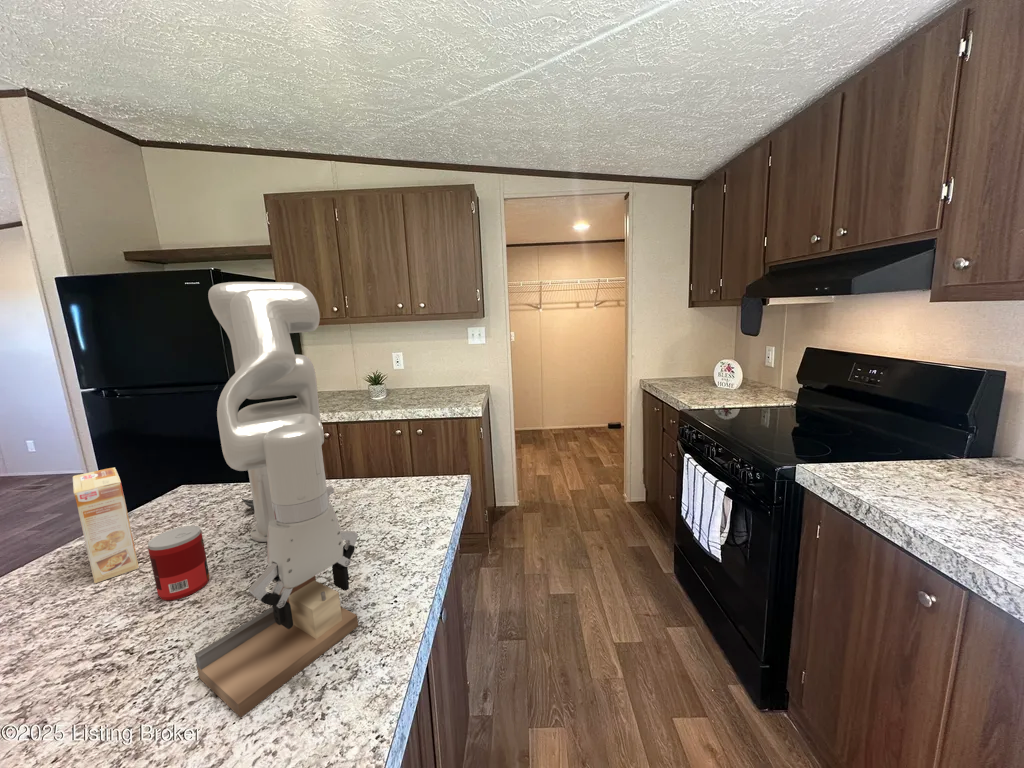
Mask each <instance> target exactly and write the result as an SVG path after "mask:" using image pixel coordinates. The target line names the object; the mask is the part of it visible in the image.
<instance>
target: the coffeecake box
mask: <svg viewBox="0 0 1024 768" xmlns="http://www.w3.org/2000/svg"><path fill="white" fill-rule="evenodd" d="M72 490H73V495H74V498H75V499H74V500H75V501H76V507H77V510H78V511H77V512H78V517H79V520H80V525H81V529H82V534H83V539H84V543H85V547H86V553H87V557H88V560H89V565H90V570H91V574H92V579H93V583H94V584H99V583H102V582H103V581H106V580H109V579H112V578H115V577H117V576H121V575H124V574H126V573H130V572H133V571H135V570H138V569H140V566H139V561H138V556H137V553H136V548H135V542H134V537H133V532H132V528H131V523H130V518H129V514H128V509H127V504H126V499H125V495H124V491H123V490H124V489H123V486H122V481H121V478H120V476H119V473H118V471H117V469H116V467H109V468H104V469H100V470H99V469H98V470H95V471H90V472H86V473H81V474H76V475H73V476H72Z"/></svg>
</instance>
